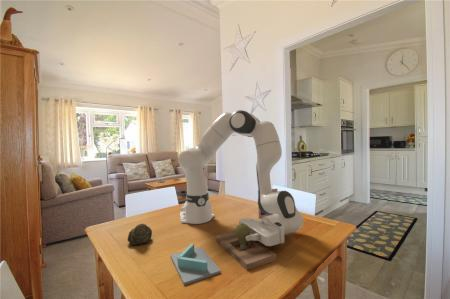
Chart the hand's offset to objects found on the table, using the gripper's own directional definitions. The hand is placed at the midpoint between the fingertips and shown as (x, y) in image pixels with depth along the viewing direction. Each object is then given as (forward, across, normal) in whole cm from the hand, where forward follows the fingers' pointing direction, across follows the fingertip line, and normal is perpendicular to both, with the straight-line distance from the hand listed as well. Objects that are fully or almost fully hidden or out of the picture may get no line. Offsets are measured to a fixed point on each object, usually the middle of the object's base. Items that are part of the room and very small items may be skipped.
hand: (240, 234), depth 83 cm
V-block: (+19, 0, +6) cm, 20 cm away
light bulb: (-1, 0, +6) cm, 6 cm away
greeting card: (-32, -26, +6) cm, 42 cm away
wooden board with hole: (-1, 0, +6) cm, 6 cm away
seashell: (+33, -30, +6) cm, 45 cm away
